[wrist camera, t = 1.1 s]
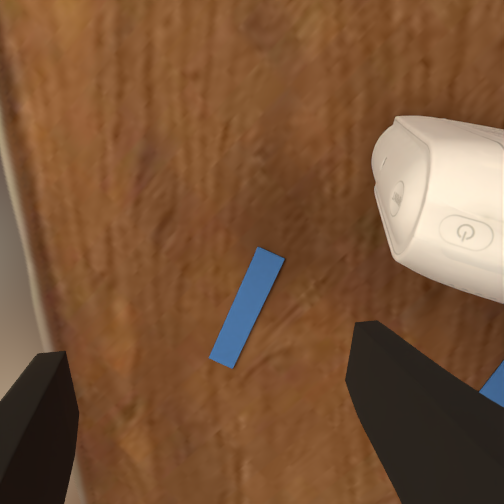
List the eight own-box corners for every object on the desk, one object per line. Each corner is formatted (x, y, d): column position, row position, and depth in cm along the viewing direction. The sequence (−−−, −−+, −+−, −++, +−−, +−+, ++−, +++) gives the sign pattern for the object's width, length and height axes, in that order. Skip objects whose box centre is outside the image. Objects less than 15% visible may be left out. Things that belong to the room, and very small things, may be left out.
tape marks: (533, 369, 24) (534, 370, 24) (452, 467, 27) (453, 468, 27) (258, 246, 25) (257, 247, 25) (209, 357, 28) (208, 358, 28)
